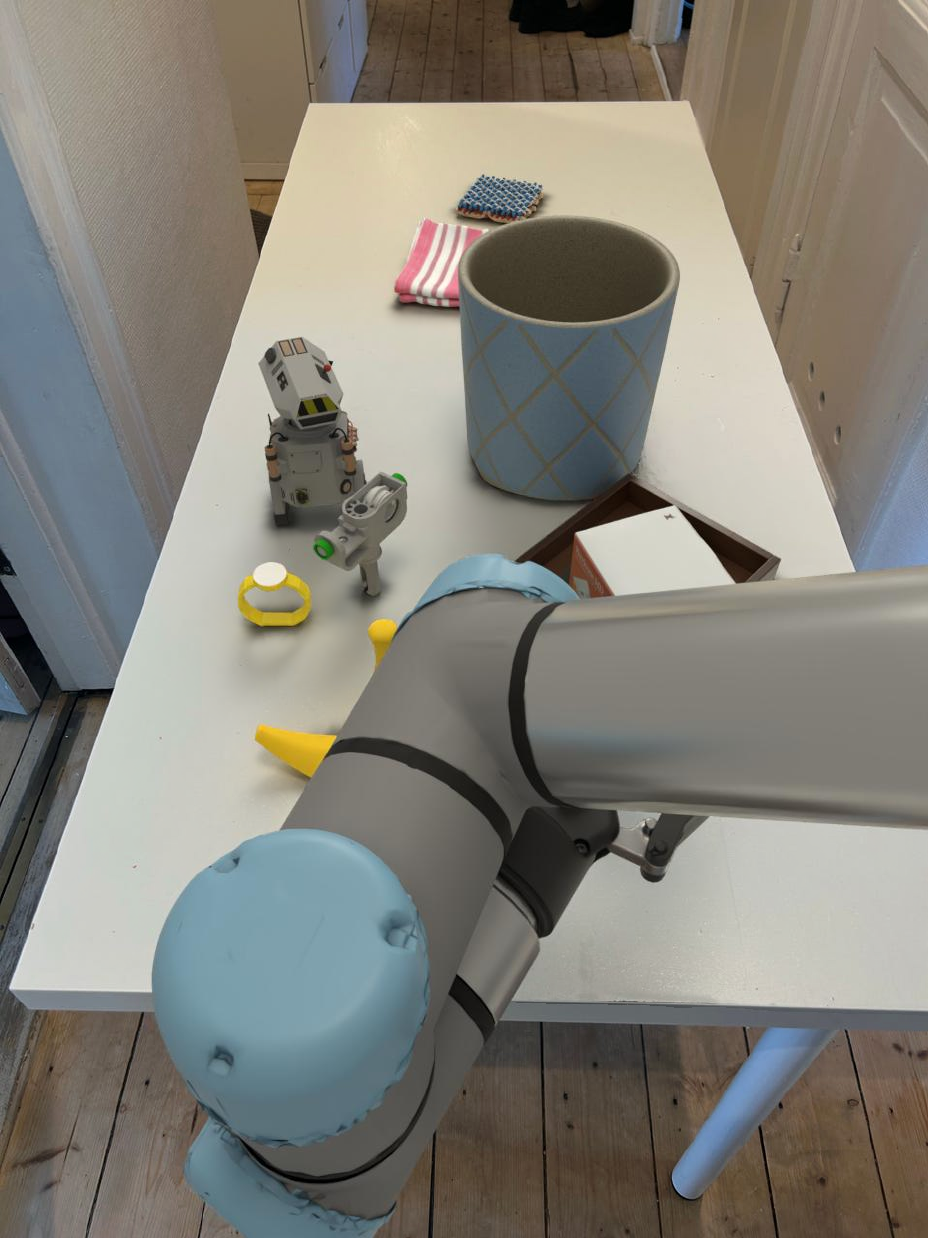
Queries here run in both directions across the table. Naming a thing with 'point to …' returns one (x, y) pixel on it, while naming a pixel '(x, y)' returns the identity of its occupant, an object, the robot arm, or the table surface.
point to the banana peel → (312, 748)
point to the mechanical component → (365, 528)
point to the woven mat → (500, 200)
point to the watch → (271, 580)
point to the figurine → (307, 430)
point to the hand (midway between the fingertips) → (675, 589)
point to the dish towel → (434, 264)
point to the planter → (562, 351)
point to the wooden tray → (639, 498)
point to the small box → (643, 557)
